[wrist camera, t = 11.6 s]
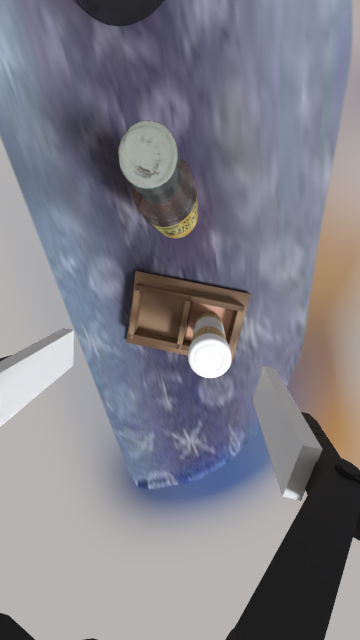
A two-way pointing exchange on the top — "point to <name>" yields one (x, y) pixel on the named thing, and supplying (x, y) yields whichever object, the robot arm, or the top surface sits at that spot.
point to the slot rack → (180, 312)
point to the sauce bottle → (159, 178)
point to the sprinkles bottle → (209, 346)
